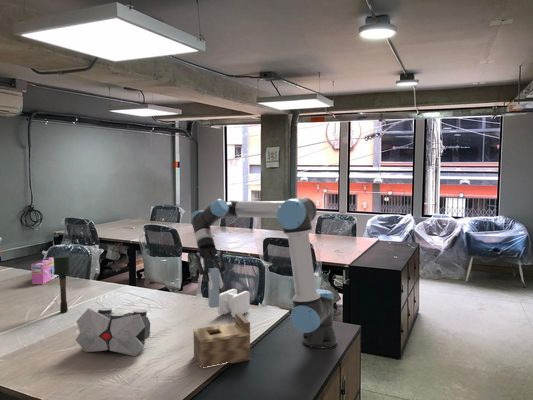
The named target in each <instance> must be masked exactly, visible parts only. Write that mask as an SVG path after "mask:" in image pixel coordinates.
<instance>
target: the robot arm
mask: <svg viewBox="0 0 533 400" xmlns="http://www.w3.org/2000/svg"><path fill="white" fill-rule="evenodd" d="M317 211H318V210H317V206H316V203H315V202H314V201H313V200H312V199H311V198H309V197H306V196H300V197H296V198H289V199H287V200H262V201H261V200H256V201H255V200H250V201H249V200H245V201H244V200H242V201H241V200H240V201H239V200H228V201H225V200H224V199H221V198H217V199H216V200H215V201H213V202H211V204H210V205H208V206H207V207H206V208H205V209H204V210H202V209H198V210H196V211H194V212H192V213H191V214H190V215H191V216H190V219H191V225H192V229H193V232H194V237H195V241H196V246H197V249H198V252H194V253H193V256H192V257H193V260H195V263H196V266H197V270H198V274H199V275H200V276H203V277H204V279H205V282H206V283H208V288H209V287H210V290H212V288H213V283H212V279H211V275H210V273H208V268H209V265H208V264H209V262H208V261H209V260H210V261H211V262H212V264H213V266H214V268H218V269H219V289H223V286H224V282H223V280H224V275H223V274H224V273H225V271H226V263H225V260H224V251H223V250H220V251H219V250H218V249H217V248H216V243H215V239H214V236H213V233H212V229H211V226H213V225H214V224H215V223H216V222H218V221H219V220H222V219H227V218H263V219H265V218H266V219H267V218H269V219H271V218H273V219H277V221H278V223H279V225H280V226H282V229H283V234H284V235H285V236H287V240H288V246H289V255H290V261H291V269H292V271H291V272H292V277H293V285H294V292H295V293H294V296H292V305H293V308H292V310H291V312H290V321H291V324H292V325H293V327H294V328H295V329H297V330H298V331H299V332H302V335H301V337H302V339H301V340H302V343H303V344H304V343H305V344H306V346H307V345H308V346H307V347H309V346H312V347H311V348H313V347H319V348H318V349H322V348H321V347H330V346H333V345H335V344H336V345H337V343H336V342H338V339H337V338H338V337H337V333H336V331H335V330H336V329H335V327H334V293H333V292H332V291H330V290H327V289H322V288H321V289H320V288H316V281H315V280H316V279H315V273H314V264H313V256H312V250H311V240H310V233H311V231H312V222H313V220H314V219H315V218H316V215H317ZM216 255H217V256H216ZM217 257H218V259H217ZM201 259H202V261H203V265H202V261H201ZM218 261H219V262H218ZM305 344H304V345H305ZM336 345H335V346H336ZM333 347H334V346H333ZM330 348H331V347H330Z"/></svg>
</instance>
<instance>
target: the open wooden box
mask: <svg viewBox="0 0 533 400" xmlns="http://www.w3.org/2000/svg"><path fill="white" fill-rule="evenodd" d="M209 334H210V335H214V334H220V333H219V332H213V333H209ZM193 358H194V359H195V358H196V359H195V361H196V360H197V361H198V363H199V364H198V363H197V364H198V366H199V365H200V366H201V368H203V367H207V366H212V365H217V364H222V363H226V362H230V363H231V364H234V363H235V364H236V363H240V362H245V361H250V360H251V334H250V335H248V336H242V337H236V338H230V339H225V340H219V341H213V342H207V343H200V341H199V340H198V338H197V337H196V335H195V334H194V333H193ZM197 361H196V362H197ZM200 366H199V367H200ZM201 368H200V369H201Z"/></svg>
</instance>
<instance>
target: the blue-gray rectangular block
mask: <svg viewBox="0 0 533 400" xmlns="http://www.w3.org/2000/svg"><path fill="white" fill-rule="evenodd" d="M208 273H210V275H211V279H212V283H213V288H212V290H210V287H209V286H208V306H209V307H210V308H218V307H219V294H220V286H219V269H218V268H215V267H210V268H209V267H208Z"/></svg>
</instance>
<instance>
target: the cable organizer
mask: <svg viewBox="0 0 533 400" xmlns="http://www.w3.org/2000/svg"><path fill="white" fill-rule="evenodd" d="M250 293H251V292H250V291H248V290H244V291H242V292H239V293H238V290H237V289H236V288H232V289H228V290H227V291H226V290H225V291H224V292H221V293H219V307H217V314H218V315H220V316H224V315H226V314H228V313H230V312H231V317H232V318H235V313H241V314H242V315H245V314H247V313H248V312H249V311H250V308H251V307H250V306H251V305H250V304H251V302H250V301H251V300H250V297H251V294H250ZM246 312H247V313H246ZM244 313H245V314H244ZM223 314H224V315H223Z"/></svg>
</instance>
